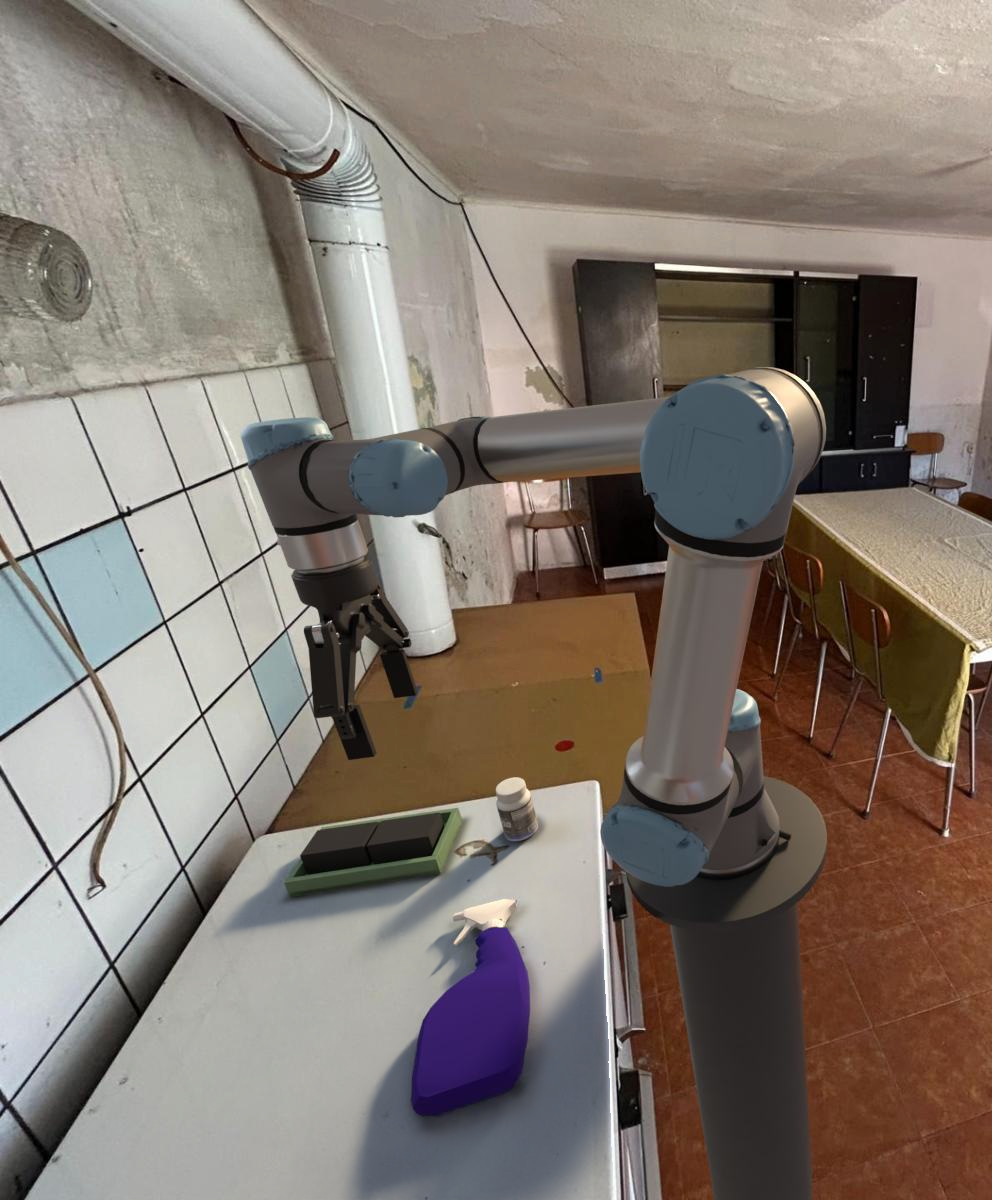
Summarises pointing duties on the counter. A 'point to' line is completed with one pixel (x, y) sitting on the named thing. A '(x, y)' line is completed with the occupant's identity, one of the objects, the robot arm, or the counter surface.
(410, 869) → the tray
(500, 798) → the pill bottle
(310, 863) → the dark brown rectangular block
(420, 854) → the pad
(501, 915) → the spray bottle
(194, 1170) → the counter surface
